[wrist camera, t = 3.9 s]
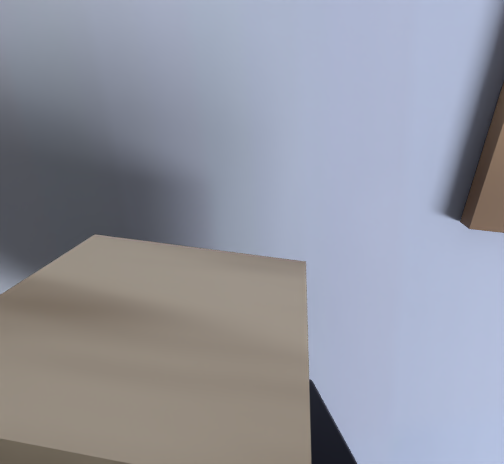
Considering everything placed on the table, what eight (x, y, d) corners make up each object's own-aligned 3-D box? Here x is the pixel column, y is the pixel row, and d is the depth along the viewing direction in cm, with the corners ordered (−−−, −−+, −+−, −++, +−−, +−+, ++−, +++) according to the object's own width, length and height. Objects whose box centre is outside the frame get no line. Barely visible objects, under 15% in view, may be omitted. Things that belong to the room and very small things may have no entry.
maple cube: (281, 424, 10) (262, 728, 5) (108, 394, 10) (-57, 647, 5) (306, 261, 8) (312, 499, 3) (94, 234, 8) (-172, 405, 4)
